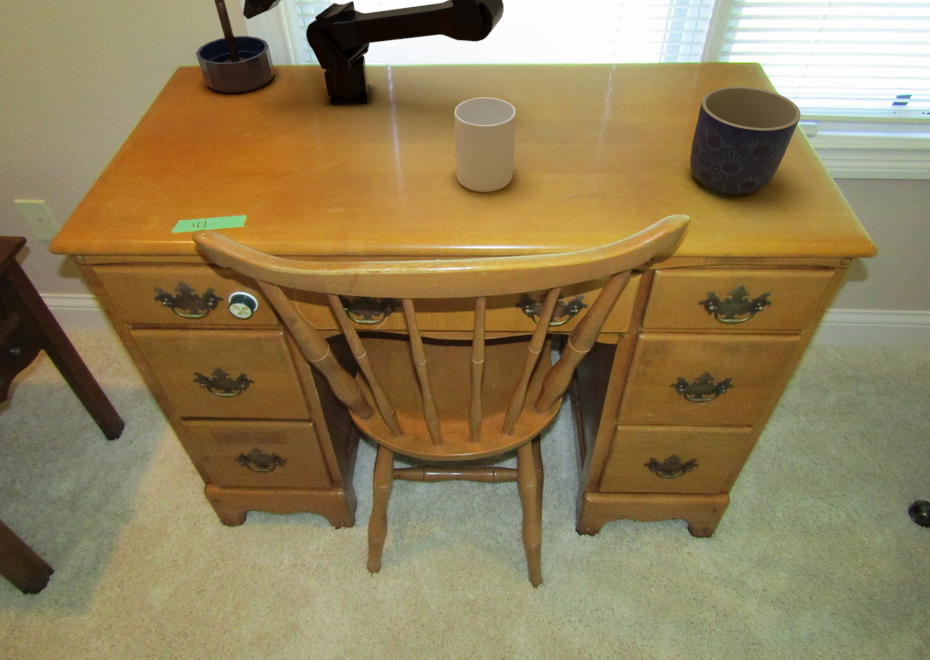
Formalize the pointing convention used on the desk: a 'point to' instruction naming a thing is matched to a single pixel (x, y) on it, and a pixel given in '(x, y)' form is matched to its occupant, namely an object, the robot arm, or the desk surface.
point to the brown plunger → (227, 31)
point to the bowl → (236, 65)
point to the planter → (741, 138)
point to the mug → (484, 143)
